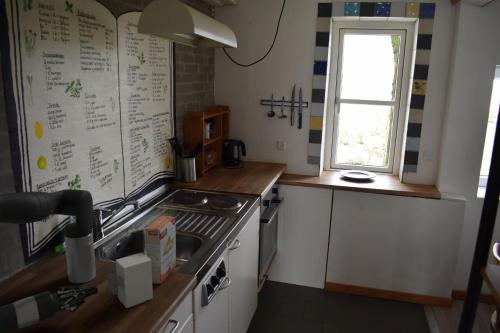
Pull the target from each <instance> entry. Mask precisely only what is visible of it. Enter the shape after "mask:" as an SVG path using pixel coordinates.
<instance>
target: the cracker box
mask: <svg viewBox="0 0 500 333" xmlns="http://www.w3.org/2000/svg"><path fill="white" fill-rule="evenodd" d="M176 239H177V237H176V216H170V215H169V216H167V215H161V216H159V218H157V219H156V220H155V221H153V222H152V223H151V224H150V225H149V226H147V227H146V228H145V255H146V256H147V257H148V258H149V259H151V266H152V284H157V285H162V284H163V283H164V281H165V280H166V279H167V278H168V276H170V274H171V273H172V272H173V271H174V270H175V269H176V267H177V262H176V260H177V255H176V254H177V253H176V252H177V250H176V249H177V248H176V242H177V240H176Z"/></svg>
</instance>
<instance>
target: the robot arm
mask: <svg viewBox="0 0 500 333" xmlns="http://www.w3.org/2000/svg"><path fill="white" fill-rule="evenodd" d="M51 215H52V216H53V215H60V216H61V215H62V216H69V217H70V216H71V217H76V218H75V221H74V222H71V223H69V224H67V225H65V226H64V228H63V233H64V245H65V256H66V264H67V276H68V281H69V282H70V283H72V284H84V283H87V282H90V281H92V280H93V279H95V277H96V276H97V272H96V271H97V270H96V259H95V246H94V232H93V228H94V227H93V225H94V198H93V195H92V194H91V192H90V191H89V190H86V189H71V188H68V189H62V190H56V191H52V192H46V191H36V190H33V191H23V192H22V191H21V192H12V193H11V192H8V193H7V192H6V193H0V223H3V224H4V223H5V224H15V225H16V224H17V225H23V224H27V225H28V224H33V223H38V222H41V221H44V220H46V219H47V218H49V217H50V216H51ZM98 293H99V289H98V287H97V285H92V286H89V287H86V288H83V287H81V288H80V286H76V285H75V286H74V285H73V286H69V285H67V286H66V285H65V286H59V287H58V291H56V292H53V293H52V292H51V291H49V290H48V291H45V292H41V293H37V294H34V295H31V296H28V297H25V298H22V299H19V300H16V301H14V302H11V303H8V304H4V305H2V306H1V305H0V333H9V332H13V331H15V330H17V329H18V330H19V329H21V328H25V327H30V326H33V325H35V324H38V323H41V322H44V321H46V320H50V319H52V318H54V317H55V316H56V314H57V312H63V311H66V310H69V311H70V313H72V314H73V313H75V312H76V311H77V310H78V309H79V308H80V307H82V306H83V305H84V304H85V303H86V298H88V297H89V298H90V297H92V296H94V295H97V294H98Z"/></svg>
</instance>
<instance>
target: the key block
mask: <svg viewBox="0 0 500 333" xmlns="http://www.w3.org/2000/svg"><path fill="white" fill-rule="evenodd" d="M115 267H116V278H118V277H121V278H122V279H123V285H121V286H118V290H119V293H118V294H117V297H118V300H119V301H120V302H121V303H122V305H123V307H125V308H126V309H128V308H132V307H134V306H137V305H140V304H142V303H145V302H147V300H148V301H149V300H153V298H154V297H153V294H154V293H153V290H154V289H153V283H152V266H151V259H149V258H148V257H147V256H146V253H144V252H138V253H135V254H132V255H127V256H125V257H122V258H121V257H120V258H118V259H115Z"/></svg>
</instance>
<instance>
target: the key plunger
mask: <svg viewBox="0 0 500 333" xmlns="http://www.w3.org/2000/svg"><path fill="white" fill-rule="evenodd" d="M106 276H107V288H108V290H109V291H110V292H111V293H112V294H113V295H114V296H115V295H118V293H119V290H118V286H121V285H123V279H122V278H121V277H118V278H117V276H115V274H114V273H112V272H110V273H107V274H106Z"/></svg>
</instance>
